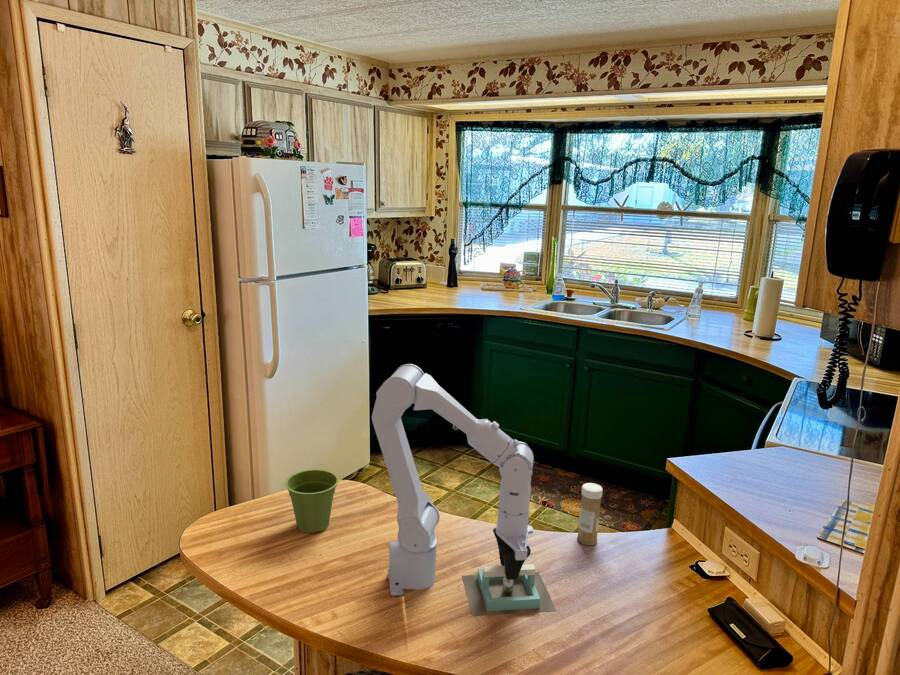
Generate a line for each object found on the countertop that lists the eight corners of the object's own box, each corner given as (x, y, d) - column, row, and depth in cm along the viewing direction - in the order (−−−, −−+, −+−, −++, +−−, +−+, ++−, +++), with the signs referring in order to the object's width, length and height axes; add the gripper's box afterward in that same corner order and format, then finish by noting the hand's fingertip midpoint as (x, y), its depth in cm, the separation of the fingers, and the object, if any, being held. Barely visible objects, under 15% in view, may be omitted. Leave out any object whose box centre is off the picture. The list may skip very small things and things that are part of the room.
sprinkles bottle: (601, 542, 140) (607, 488, 137) (586, 548, 137) (592, 493, 134) (586, 533, 144) (592, 480, 140) (572, 538, 141) (577, 484, 138)
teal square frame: (487, 611, 114) (489, 585, 113) (477, 578, 124) (478, 554, 122) (539, 608, 115) (541, 582, 114) (525, 575, 125) (527, 551, 124)
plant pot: (289, 512, 147) (289, 469, 144) (340, 511, 148) (340, 468, 145) (282, 540, 135) (281, 493, 133) (336, 539, 137) (336, 493, 134)
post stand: (472, 620, 113) (473, 601, 112) (461, 580, 124) (462, 562, 123) (556, 615, 115) (558, 596, 114) (538, 576, 127) (539, 558, 126)
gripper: (545, 527, 109) (539, 594, 112) (524, 488, 123) (519, 549, 126) (506, 529, 108) (502, 596, 111) (489, 489, 122) (485, 550, 125)
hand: (508, 571), depth 118 cm, fingers open, 4 cm apart
